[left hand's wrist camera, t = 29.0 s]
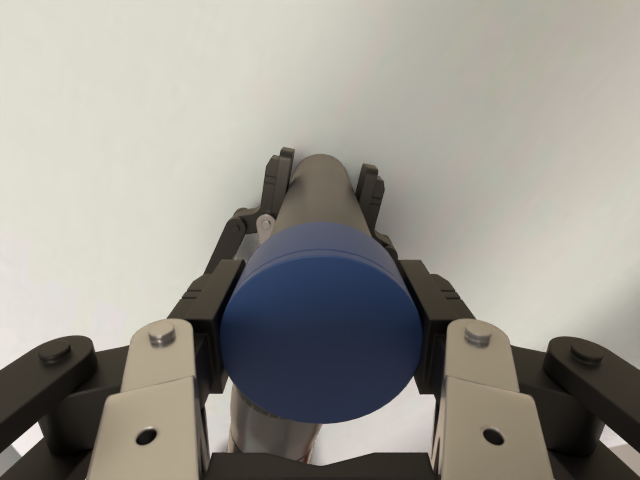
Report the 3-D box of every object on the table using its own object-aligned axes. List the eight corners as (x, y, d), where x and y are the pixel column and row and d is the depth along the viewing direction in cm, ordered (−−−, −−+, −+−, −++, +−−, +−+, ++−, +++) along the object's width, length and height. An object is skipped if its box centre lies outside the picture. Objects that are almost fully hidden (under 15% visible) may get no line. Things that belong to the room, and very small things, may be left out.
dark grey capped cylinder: (340, 147, 26) (383, 237, 9) (353, 200, 28) (413, 373, 10) (285, 162, 27) (216, 278, 9) (301, 214, 28) (270, 404, 10)
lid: (434, 268, 11) (465, 313, 8) (350, 384, 12) (357, 448, 10) (283, 190, 10) (272, 216, 7) (214, 325, 11) (188, 381, 9)
